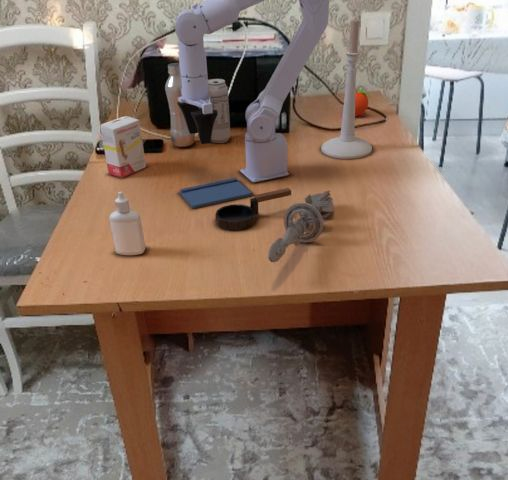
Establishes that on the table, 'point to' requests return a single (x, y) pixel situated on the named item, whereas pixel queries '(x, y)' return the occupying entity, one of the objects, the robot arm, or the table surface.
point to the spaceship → (302, 223)
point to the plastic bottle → (177, 108)
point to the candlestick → (349, 110)
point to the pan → (245, 211)
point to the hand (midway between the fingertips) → (199, 138)
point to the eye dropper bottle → (126, 228)
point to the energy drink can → (219, 110)
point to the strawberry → (360, 102)
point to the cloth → (214, 193)
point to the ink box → (123, 146)
